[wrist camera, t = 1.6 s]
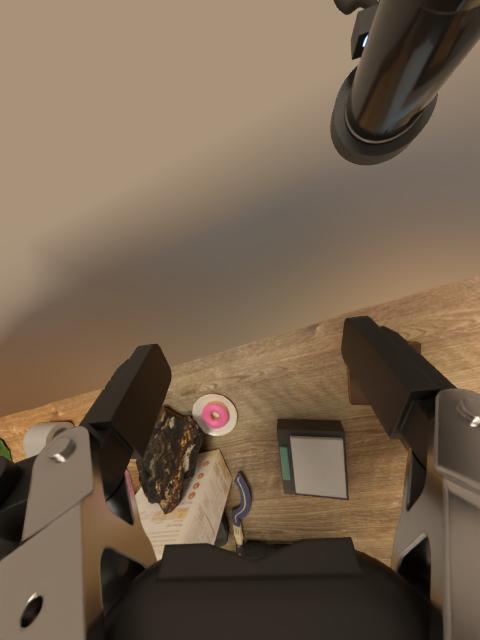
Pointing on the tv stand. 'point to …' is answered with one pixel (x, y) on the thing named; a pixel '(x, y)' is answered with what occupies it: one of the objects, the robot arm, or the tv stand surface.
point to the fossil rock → (169, 459)
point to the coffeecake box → (189, 507)
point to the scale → (313, 458)
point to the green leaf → (4, 451)
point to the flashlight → (260, 549)
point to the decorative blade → (240, 512)
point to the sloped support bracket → (42, 436)
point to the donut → (214, 414)
